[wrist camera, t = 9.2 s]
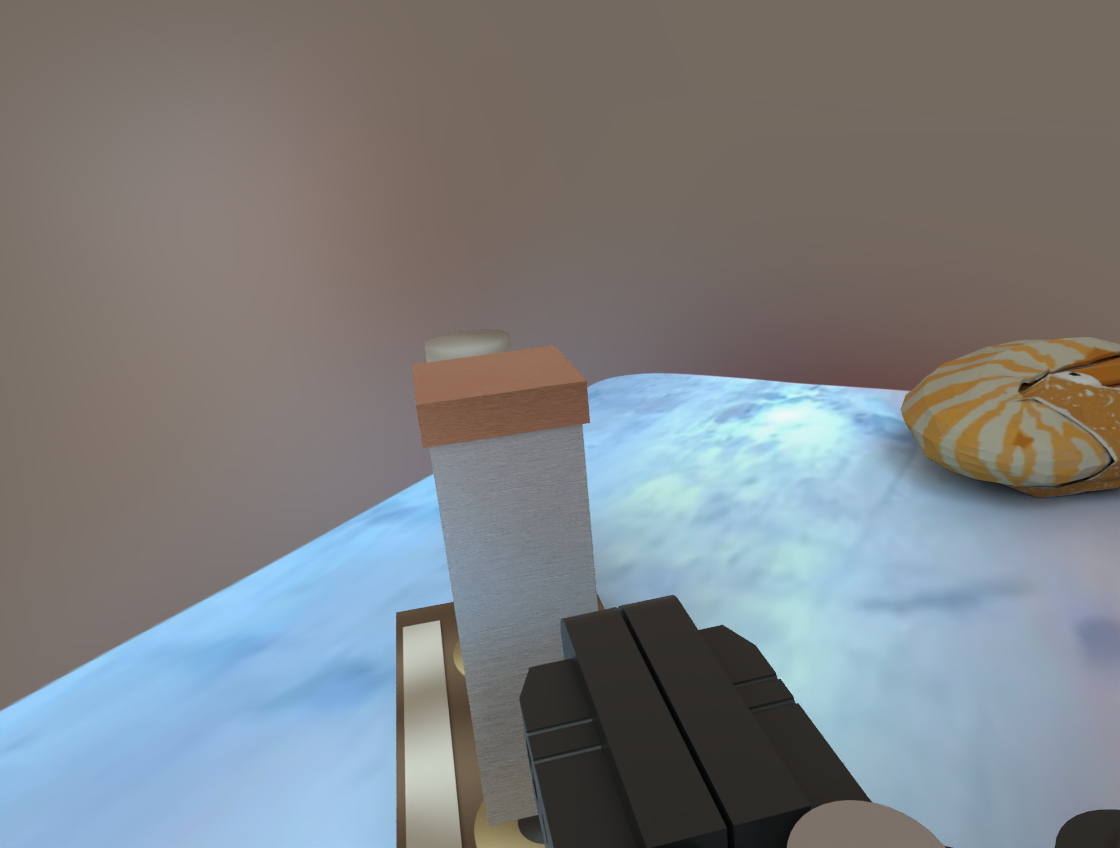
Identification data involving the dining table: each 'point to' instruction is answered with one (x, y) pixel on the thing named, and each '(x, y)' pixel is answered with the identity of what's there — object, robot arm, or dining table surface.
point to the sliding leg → (509, 535)
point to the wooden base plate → (444, 706)
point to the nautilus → (1025, 415)
